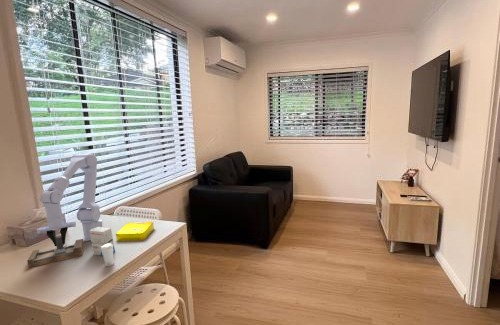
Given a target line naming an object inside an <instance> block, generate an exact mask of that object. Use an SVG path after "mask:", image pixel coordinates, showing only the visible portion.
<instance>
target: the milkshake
mask: <svg viewBox="0 0 500 325" xmlns="http://www.w3.org/2000/svg"><path fill="white" fill-rule="evenodd" d="M98 244H99V243H98ZM99 245H100V244H99ZM100 247H101V245H100ZM101 251H102V254H103V255H102V258H103V262H104V266H105V267H112V266H114V263H115V261H114V252H113V245H112V244H111V243H107V244H104V245H103V246H102V247H101Z"/></svg>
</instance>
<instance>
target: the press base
mask: <svg viewBox="0 0 500 325" xmlns="http://www.w3.org/2000/svg"><path fill="white" fill-rule="evenodd" d="M83 239H84V238H80V239H76V240H75V243H74V244H72V245H71V244H70V245H67V251H66V253H62V254H58V255H55V252H54V250H55V248H53V249H48V250H43V251H39V249H35V250H32V252H31V253H30V255H29V257H28V259H27V265H28V268H33V267H37V266H42V265H45V264H46V265H47V264H50V263H51V264H52V263H55V262H58V261H62V260H68V259H71V258H77V257H81V256H83V254H84V249H85V244H84V242H85V241H84V242H83Z"/></svg>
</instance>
